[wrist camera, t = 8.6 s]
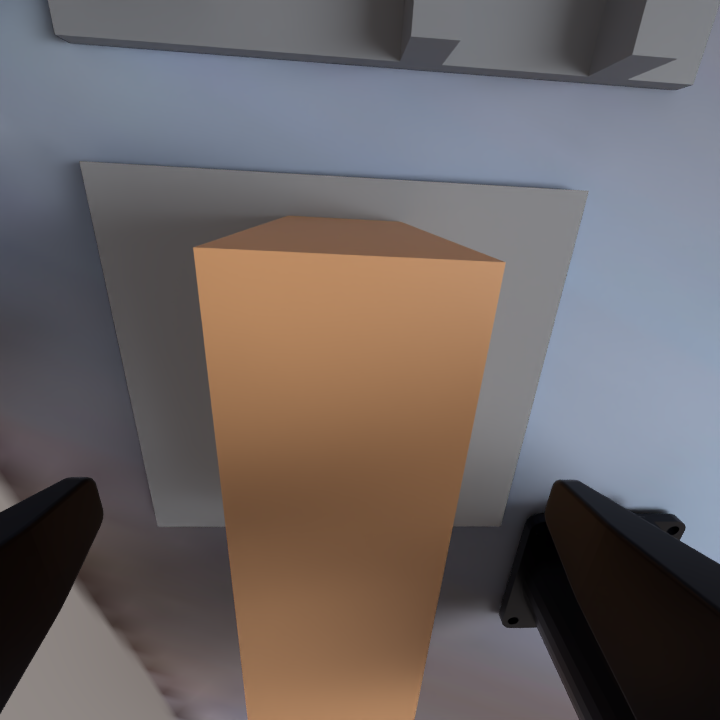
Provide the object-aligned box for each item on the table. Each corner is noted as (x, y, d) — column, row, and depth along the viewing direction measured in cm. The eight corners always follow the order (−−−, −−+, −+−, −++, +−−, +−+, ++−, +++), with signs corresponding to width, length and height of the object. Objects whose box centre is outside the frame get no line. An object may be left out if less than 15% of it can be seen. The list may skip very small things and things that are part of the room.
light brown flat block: (375, 506, 14) (404, 766, 8) (293, 506, 14) (253, 773, 7) (400, 221, 10) (506, 261, 4) (288, 215, 10) (193, 247, 4)
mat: (494, 514, 15) (500, 526, 15) (164, 514, 14) (157, 526, 14) (575, 191, 11) (588, 191, 10) (94, 163, 10) (78, 161, 9)
